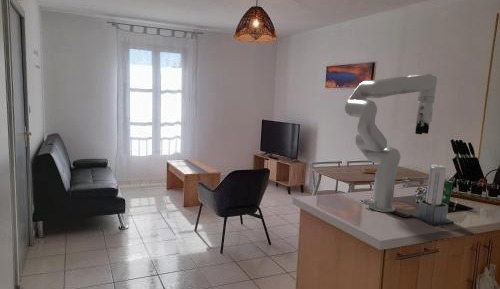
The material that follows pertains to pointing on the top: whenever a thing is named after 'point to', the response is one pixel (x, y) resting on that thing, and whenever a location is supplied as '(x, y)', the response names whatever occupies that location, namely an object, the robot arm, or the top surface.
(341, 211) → the top surface
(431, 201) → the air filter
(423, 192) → the passion flower
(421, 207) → the collar
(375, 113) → the robot arm
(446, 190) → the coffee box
